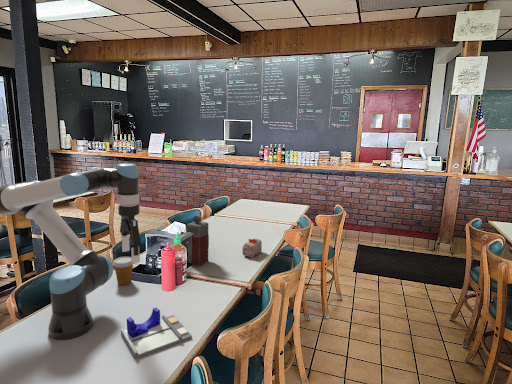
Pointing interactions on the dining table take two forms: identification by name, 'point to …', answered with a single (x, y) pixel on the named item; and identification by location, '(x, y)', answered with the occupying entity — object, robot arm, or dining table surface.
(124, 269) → the disposable coffee cup
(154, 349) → the board
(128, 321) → the cable clip
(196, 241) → the dark red bottle
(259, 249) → the food item
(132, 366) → the dining table surface
